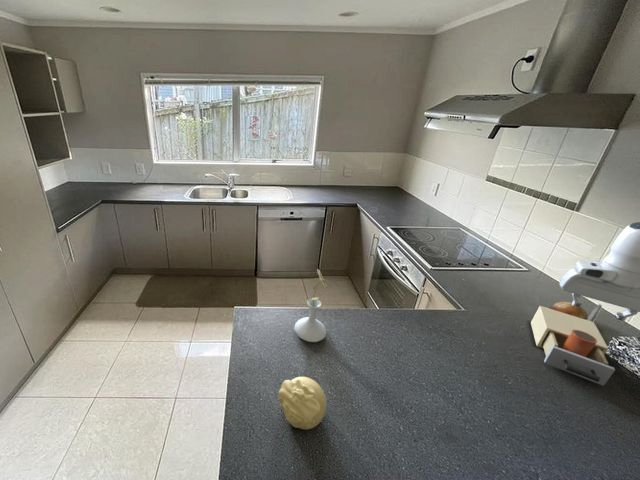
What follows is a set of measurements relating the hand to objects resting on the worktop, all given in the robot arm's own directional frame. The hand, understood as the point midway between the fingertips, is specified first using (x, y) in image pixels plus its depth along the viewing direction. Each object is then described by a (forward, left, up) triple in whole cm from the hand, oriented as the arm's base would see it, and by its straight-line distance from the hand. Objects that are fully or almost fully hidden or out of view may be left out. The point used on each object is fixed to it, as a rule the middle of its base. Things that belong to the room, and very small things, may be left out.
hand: (596, 312), depth 87 cm
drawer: (0, +2, -20) cm, 20 cm away
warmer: (0, -11, -21) cm, 23 cm away
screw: (-9, -26, -21) cm, 34 cm away
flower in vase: (+75, +43, -21) cm, 89 cm away
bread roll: (-6, -34, -21) cm, 40 cm away
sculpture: (+63, +72, -21) cm, 98 cm away
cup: (0, +1, -19) cm, 19 cm away
